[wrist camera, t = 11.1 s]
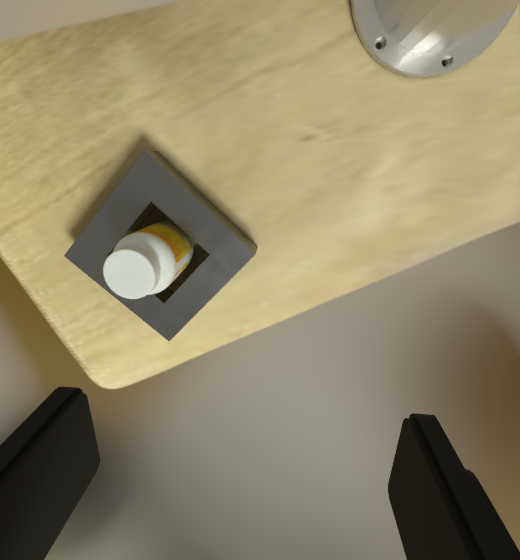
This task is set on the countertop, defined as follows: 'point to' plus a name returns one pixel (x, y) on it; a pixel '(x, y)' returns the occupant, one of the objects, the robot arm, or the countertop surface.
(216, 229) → the square hole block
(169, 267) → the supplement bottle
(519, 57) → the countertop surface
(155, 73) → the countertop surface
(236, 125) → the countertop surface
